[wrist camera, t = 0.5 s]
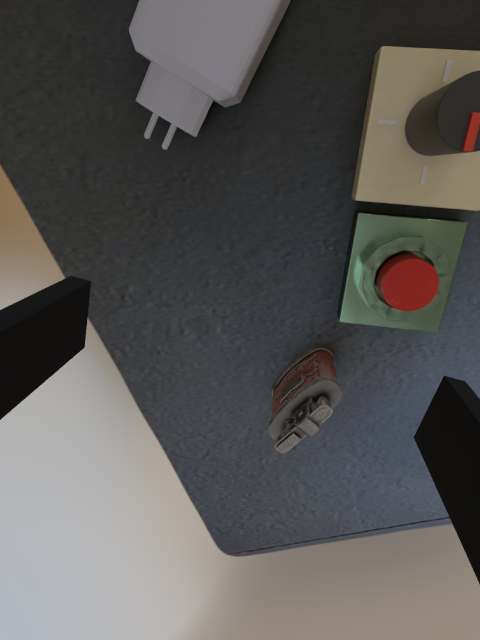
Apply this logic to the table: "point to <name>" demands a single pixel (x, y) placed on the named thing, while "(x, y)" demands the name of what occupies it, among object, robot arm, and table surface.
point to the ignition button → (408, 282)
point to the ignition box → (382, 245)
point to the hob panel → (390, 140)
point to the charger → (199, 55)
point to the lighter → (303, 397)
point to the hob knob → (447, 119)
